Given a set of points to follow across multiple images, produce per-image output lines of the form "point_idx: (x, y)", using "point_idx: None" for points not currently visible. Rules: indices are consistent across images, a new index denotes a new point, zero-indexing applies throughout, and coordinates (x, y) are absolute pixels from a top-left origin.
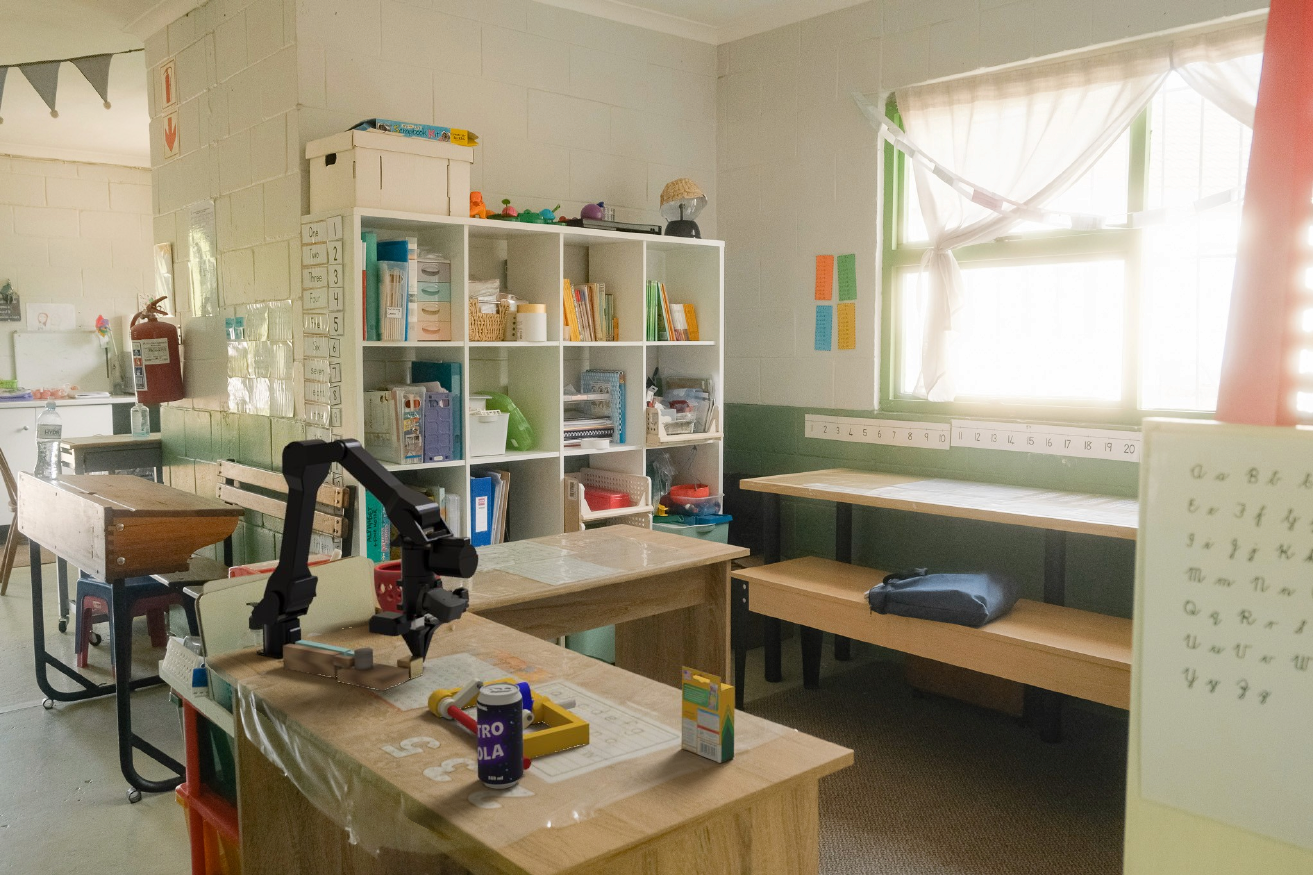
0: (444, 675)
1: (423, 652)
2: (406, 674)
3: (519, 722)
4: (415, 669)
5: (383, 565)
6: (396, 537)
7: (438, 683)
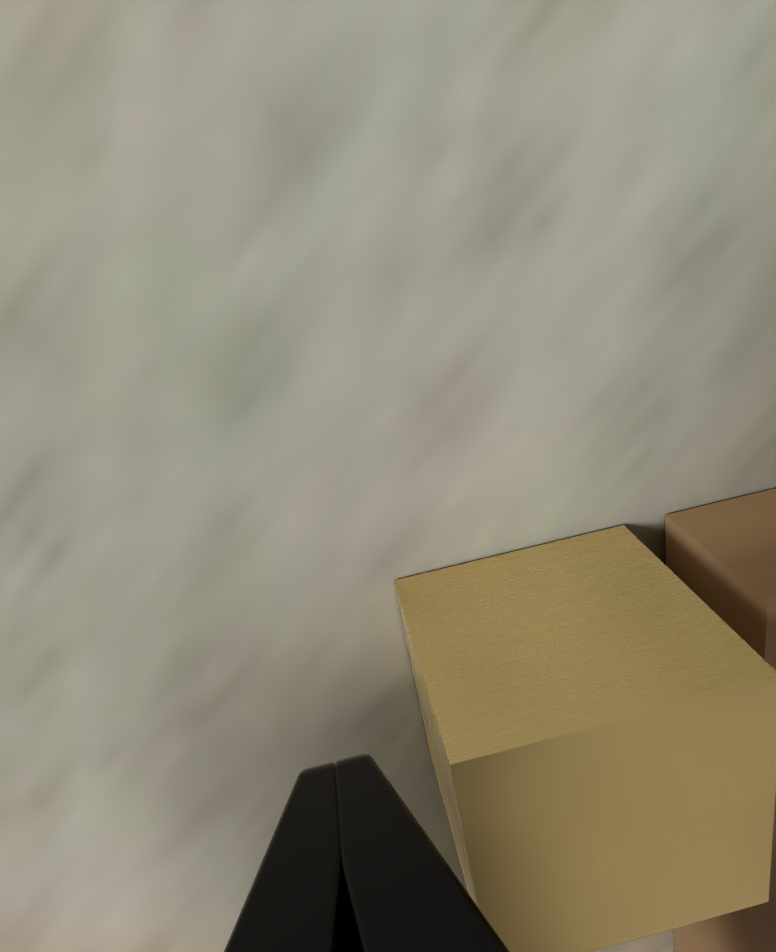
0: (197, 336)
1: (364, 902)
2: (768, 548)
3: None
4: (583, 610)
5: None
6: None
7: (528, 64)
